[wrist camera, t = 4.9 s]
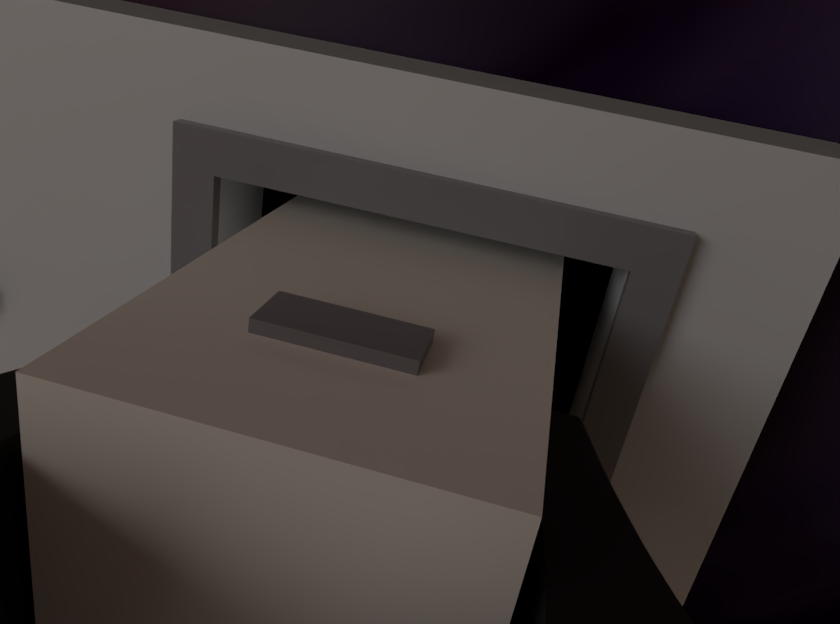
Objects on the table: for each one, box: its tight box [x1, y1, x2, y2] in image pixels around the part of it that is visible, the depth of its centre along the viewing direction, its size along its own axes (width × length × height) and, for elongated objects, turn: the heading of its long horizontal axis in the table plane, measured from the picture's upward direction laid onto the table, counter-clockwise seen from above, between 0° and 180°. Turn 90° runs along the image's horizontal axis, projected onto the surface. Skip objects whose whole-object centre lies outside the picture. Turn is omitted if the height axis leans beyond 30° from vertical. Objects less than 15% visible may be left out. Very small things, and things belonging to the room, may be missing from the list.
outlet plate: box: [0, 0, 840, 606], centre depth 12 cm, size 11×16×2 cm
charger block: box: [15, 195, 564, 624], centre depth 9 cm, size 4×4×6 cm
